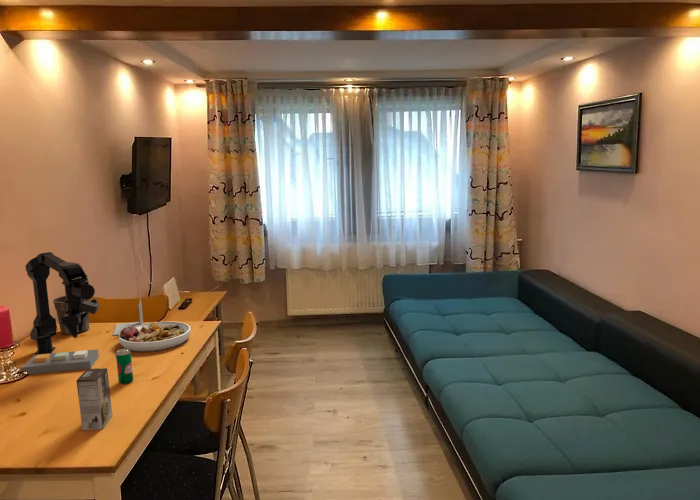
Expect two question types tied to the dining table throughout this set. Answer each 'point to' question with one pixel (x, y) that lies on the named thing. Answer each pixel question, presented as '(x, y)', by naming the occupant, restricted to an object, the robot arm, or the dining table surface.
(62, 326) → the plant pot
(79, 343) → the dining table surface
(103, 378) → the coffee box
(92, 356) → the panel
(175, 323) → the bowl
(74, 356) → the off white button
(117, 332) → the laptop
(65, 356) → the sage button
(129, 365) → the soda can
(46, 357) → the orange button
